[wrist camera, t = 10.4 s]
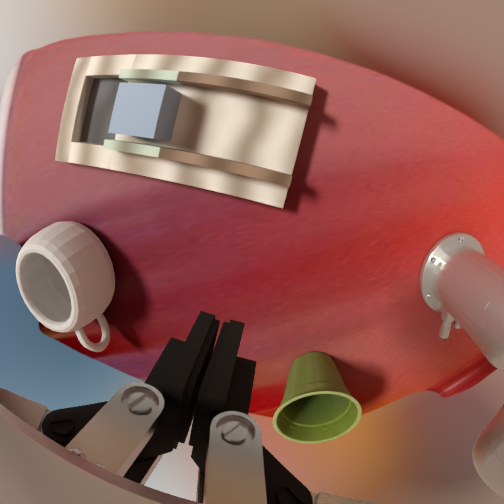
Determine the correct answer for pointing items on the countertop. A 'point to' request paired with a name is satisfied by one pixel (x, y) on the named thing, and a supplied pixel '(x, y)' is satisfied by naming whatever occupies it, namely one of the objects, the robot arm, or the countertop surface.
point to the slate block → (145, 110)
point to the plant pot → (315, 402)
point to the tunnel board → (193, 123)
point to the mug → (67, 280)
